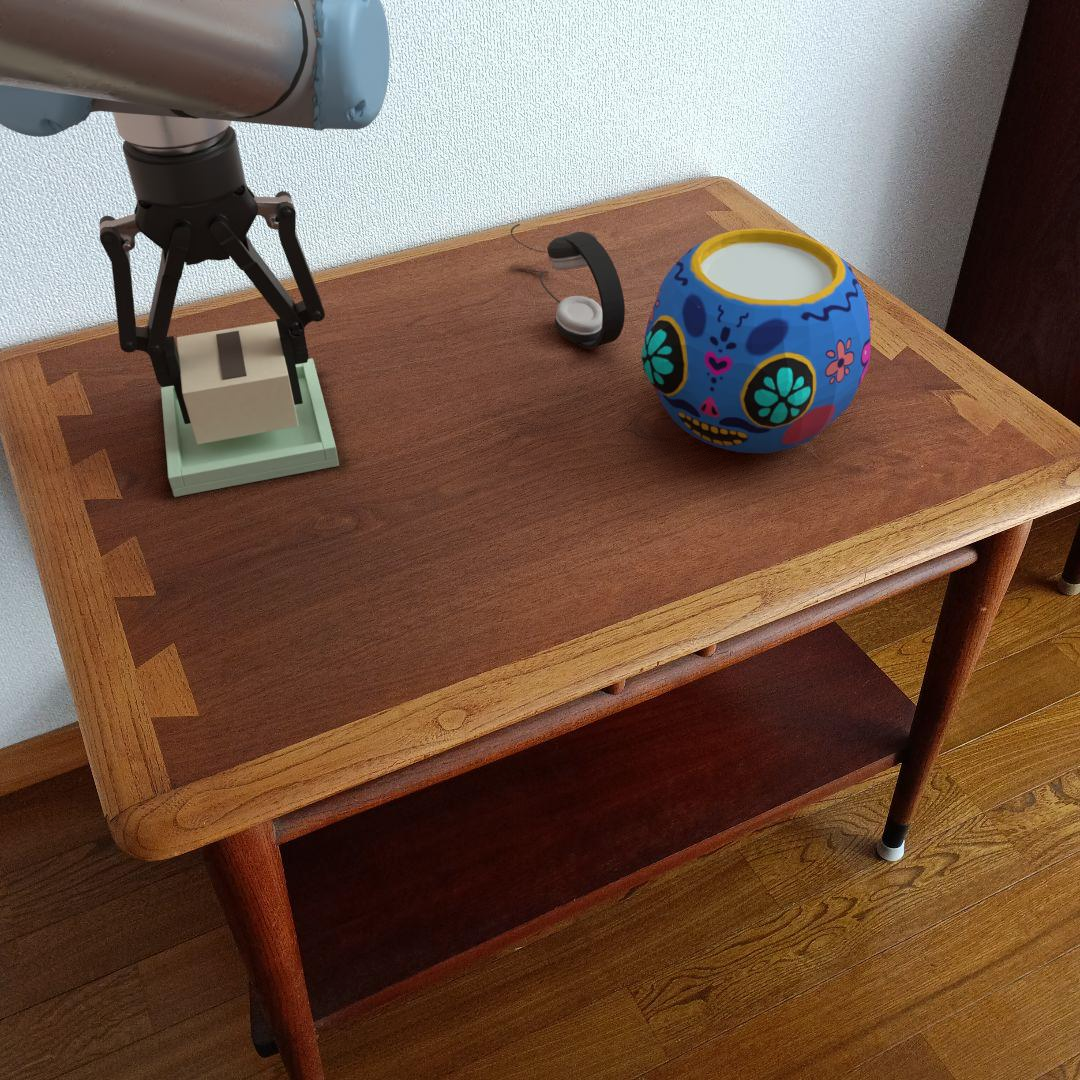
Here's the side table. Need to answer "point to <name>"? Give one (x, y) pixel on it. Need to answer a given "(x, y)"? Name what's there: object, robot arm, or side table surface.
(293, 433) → the shallow tray
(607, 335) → the headphones
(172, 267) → the robot arm
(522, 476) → the side table surface
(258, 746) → the side table surface
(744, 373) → the ceramic pot
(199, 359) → the beige block
